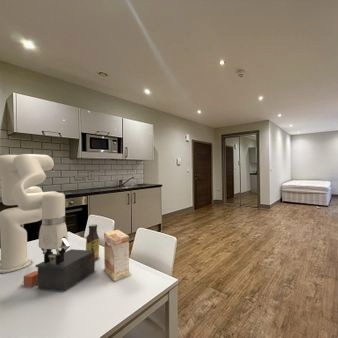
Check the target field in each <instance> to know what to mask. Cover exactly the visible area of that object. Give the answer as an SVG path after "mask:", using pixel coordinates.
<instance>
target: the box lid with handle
mask: <svg viewBox="0 0 338 338" xmlns="http://www.w3.org/2000/svg"><path fill="white" fill-rule="evenodd" d="M94 252H95V251H89V250H86V249H73V248H70V249H69V250H66V251H65V253H64V262H62V263H60V264H58V265H57V264H56V255H57V253H53V254H48V256H47V257H48V258H49V262H48V263H46V264H45V263H44V261H41V262H39V263H37V264H35V266H34V267H35V268H38V267H41V268H53V269H64V268H66V267H68V266H70V265H72V264H73V263H75V262H77V261H79V260H81V259H83V258H85V257H87V256H89V255H91V254H92V253H94ZM52 258H53V260H52Z"/></svg>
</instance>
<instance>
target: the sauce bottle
mask: <svg viewBox="0 0 338 338" xmlns="http://www.w3.org/2000/svg"><path fill="white" fill-rule="evenodd" d="M97 228H98V224H96V223H94V224H89V225H88V234H87V236H86V241H85V250H89V251H95V252H94V253H95V261H97V260H98V259H99V258H100V257H99V256H100V237H99V234H98V229H97Z"/></svg>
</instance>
